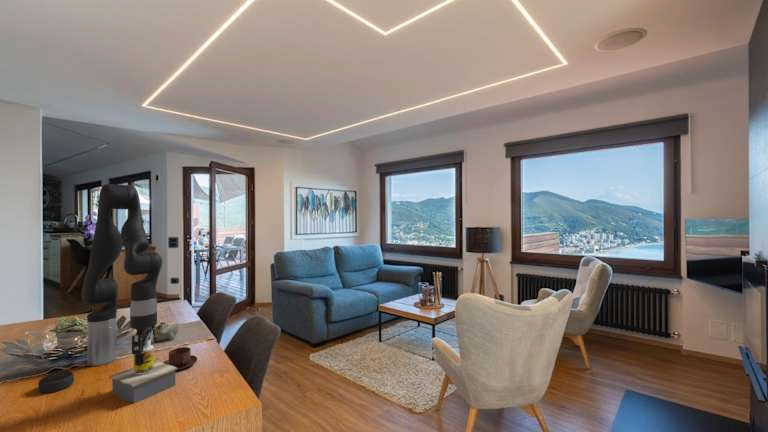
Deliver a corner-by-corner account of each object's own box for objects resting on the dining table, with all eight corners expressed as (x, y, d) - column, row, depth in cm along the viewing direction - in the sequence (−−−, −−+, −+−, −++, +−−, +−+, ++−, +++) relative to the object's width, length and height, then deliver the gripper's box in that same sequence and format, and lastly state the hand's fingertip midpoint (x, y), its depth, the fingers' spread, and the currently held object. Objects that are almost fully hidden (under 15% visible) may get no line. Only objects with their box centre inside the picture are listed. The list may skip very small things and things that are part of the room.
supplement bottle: (133, 377, 113) (133, 345, 113) (134, 370, 118) (134, 340, 118) (154, 372, 116) (153, 342, 116) (154, 366, 121) (153, 337, 121)
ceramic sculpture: (174, 323, 161) (137, 328, 156) (176, 341, 161) (139, 347, 156) (181, 317, 171) (146, 321, 167) (182, 334, 171) (147, 339, 167)
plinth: (109, 394, 114) (109, 376, 114) (154, 376, 126) (154, 360, 126) (133, 404, 107) (132, 385, 107) (177, 384, 120) (177, 367, 120)
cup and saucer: (204, 363, 138) (203, 347, 138) (174, 375, 127) (174, 359, 127) (184, 358, 143) (184, 343, 143) (154, 369, 132) (154, 353, 132)
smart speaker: (78, 385, 120) (78, 373, 120) (43, 397, 113) (43, 384, 113) (68, 379, 125) (68, 368, 125) (34, 390, 117) (34, 378, 117)
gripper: (149, 316, 111) (149, 367, 111) (163, 305, 125) (163, 350, 125) (121, 319, 109) (122, 370, 109) (139, 307, 122) (139, 353, 123)
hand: (144, 359), depth 117 cm, fingers open, 8 cm apart
